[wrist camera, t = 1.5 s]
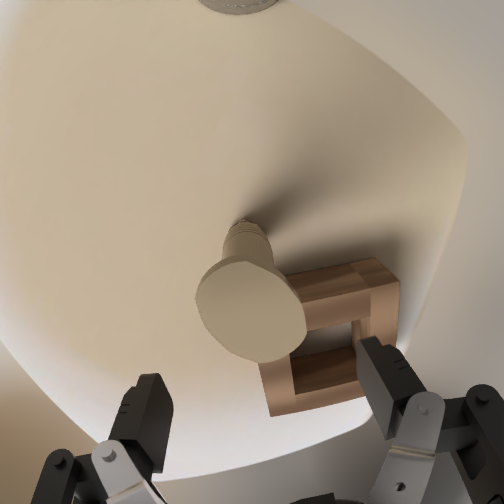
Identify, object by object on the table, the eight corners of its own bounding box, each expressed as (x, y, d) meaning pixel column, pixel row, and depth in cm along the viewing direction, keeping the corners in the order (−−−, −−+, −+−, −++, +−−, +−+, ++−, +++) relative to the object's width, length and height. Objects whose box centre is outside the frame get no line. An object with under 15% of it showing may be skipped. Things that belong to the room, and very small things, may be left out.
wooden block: (244, 283, 32) (246, 313, 26) (374, 257, 31) (399, 281, 26) (266, 381, 36) (270, 417, 31) (373, 357, 36) (390, 388, 31)
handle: (245, 193, 29) (252, 242, 15) (285, 245, 31) (323, 331, 16) (204, 224, 29) (176, 299, 15) (245, 273, 31) (253, 374, 17)
